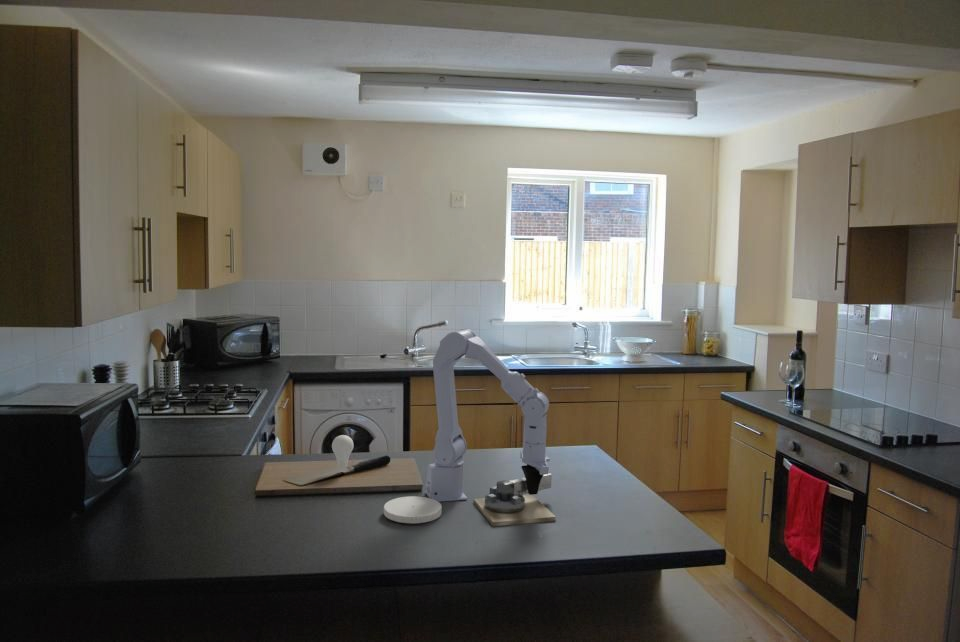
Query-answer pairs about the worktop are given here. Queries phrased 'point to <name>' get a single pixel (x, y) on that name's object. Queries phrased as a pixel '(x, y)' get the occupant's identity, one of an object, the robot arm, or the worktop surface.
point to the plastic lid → (412, 509)
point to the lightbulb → (342, 449)
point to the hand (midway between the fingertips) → (532, 493)
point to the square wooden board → (517, 513)
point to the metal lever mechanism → (512, 494)
